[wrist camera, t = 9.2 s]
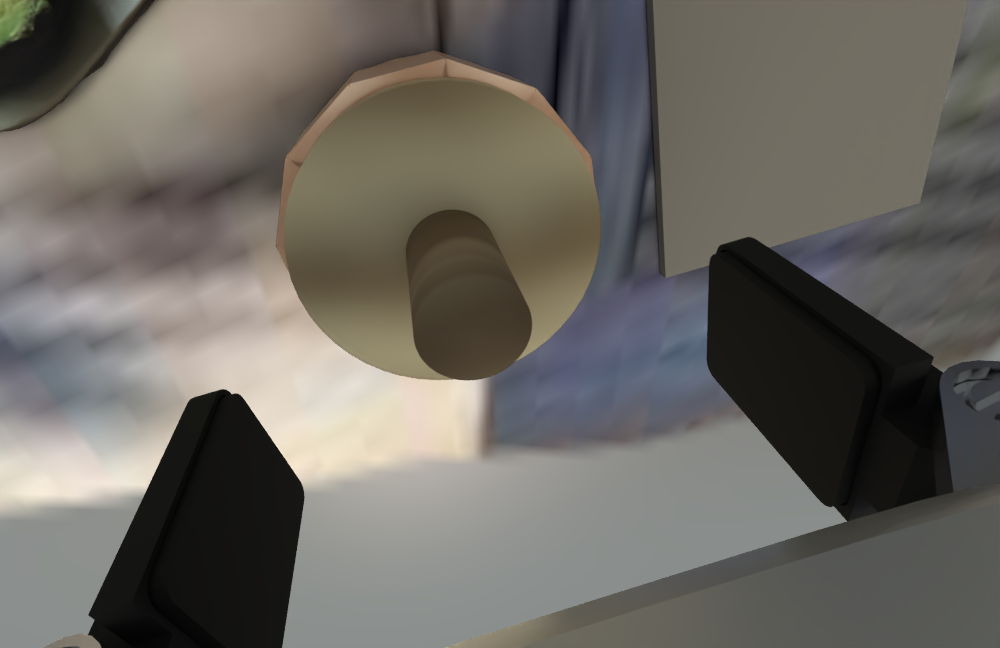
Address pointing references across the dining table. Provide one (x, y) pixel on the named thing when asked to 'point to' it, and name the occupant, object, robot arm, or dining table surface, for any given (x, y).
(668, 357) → the dining table surface
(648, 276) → the dining table surface
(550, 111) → the bowl
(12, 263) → the dining table surface
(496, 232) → the lid
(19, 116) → the salad plate
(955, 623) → the robot arm
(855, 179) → the mat
